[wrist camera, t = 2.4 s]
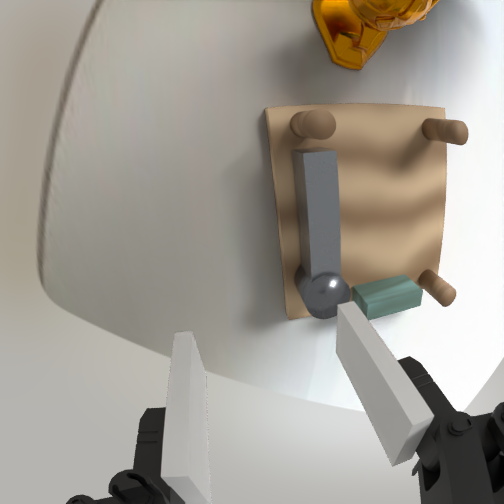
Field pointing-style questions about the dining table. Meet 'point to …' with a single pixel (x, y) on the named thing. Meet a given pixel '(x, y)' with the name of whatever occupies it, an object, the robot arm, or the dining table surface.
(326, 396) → the dining table surface
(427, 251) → the board
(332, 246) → the leg
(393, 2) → the figurine
